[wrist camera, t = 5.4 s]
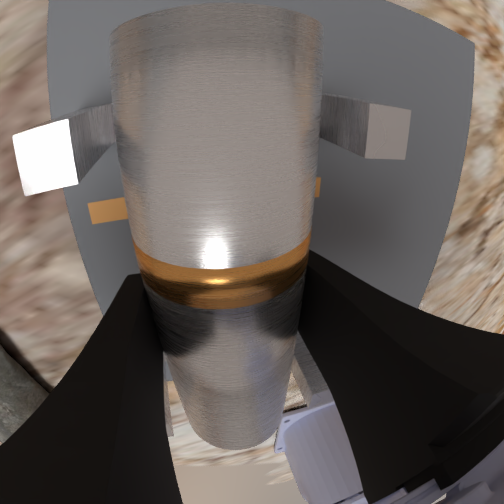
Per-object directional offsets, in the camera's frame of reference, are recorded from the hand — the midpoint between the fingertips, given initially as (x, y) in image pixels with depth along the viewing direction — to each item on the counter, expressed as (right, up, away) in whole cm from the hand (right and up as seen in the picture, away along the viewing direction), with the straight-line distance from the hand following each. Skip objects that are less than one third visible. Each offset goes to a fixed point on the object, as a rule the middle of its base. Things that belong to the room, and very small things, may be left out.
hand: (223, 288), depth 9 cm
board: (+3, +3, +3) cm, 5 cm away
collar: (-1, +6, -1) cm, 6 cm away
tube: (0, +1, +1) cm, 2 cm away
